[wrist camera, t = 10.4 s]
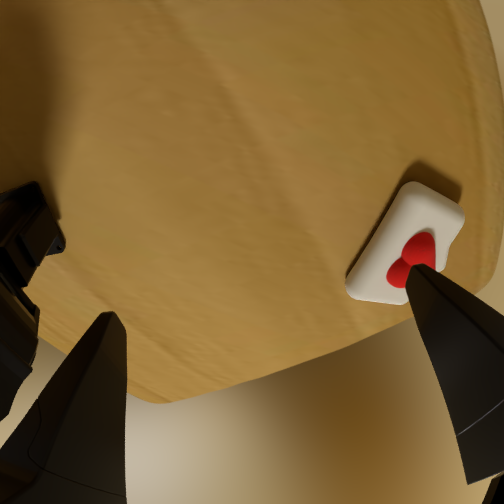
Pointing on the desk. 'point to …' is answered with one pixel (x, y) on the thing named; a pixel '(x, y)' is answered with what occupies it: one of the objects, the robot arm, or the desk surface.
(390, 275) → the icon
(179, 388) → the desk surface
